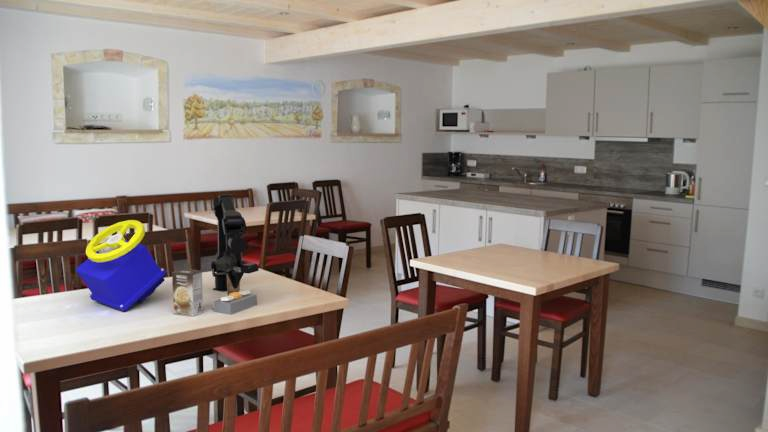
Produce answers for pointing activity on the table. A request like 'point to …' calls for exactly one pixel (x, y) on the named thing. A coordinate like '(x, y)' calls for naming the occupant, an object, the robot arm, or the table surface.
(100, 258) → the control box
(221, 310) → the switch panel
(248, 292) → the block
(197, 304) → the coffee box
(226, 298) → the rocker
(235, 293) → the block
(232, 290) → the wood post
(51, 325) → the table surface
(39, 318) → the table surface
